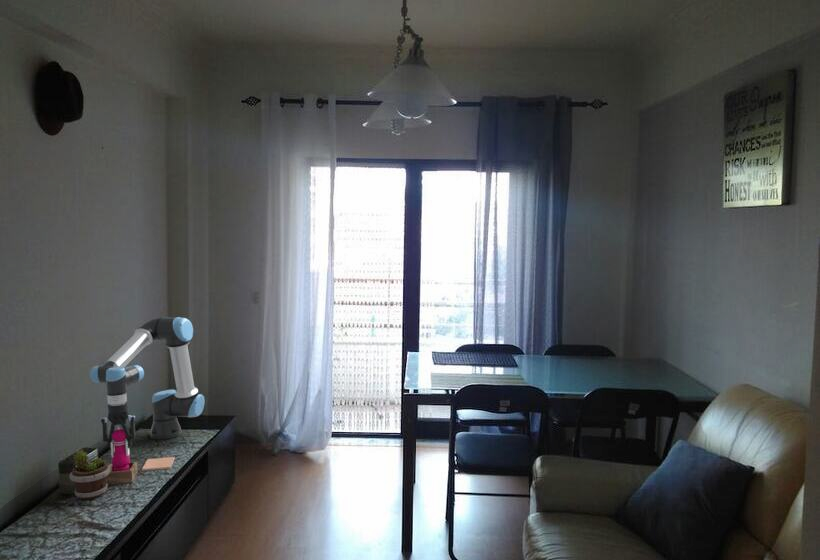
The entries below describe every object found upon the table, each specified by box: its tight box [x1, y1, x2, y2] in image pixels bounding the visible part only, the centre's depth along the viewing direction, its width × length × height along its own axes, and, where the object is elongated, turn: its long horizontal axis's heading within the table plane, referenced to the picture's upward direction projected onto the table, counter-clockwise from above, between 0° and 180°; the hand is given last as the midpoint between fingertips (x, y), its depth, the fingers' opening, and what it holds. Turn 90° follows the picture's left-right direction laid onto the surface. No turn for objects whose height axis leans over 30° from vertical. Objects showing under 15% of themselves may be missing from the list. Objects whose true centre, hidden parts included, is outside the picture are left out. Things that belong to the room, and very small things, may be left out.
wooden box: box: [106, 461, 139, 485], centre depth 271 cm, size 11×11×5 cm
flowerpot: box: [68, 448, 111, 500], centre depth 254 cm, size 14×15×20 cm
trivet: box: [141, 456, 176, 472], centre depth 287 cm, size 12×12×1 cm
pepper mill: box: [111, 425, 131, 472], centre depth 270 cm, size 7×7×20 cm
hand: (120, 455), depth 271 cm, fingers closed on pepper mill, 5 cm apart
